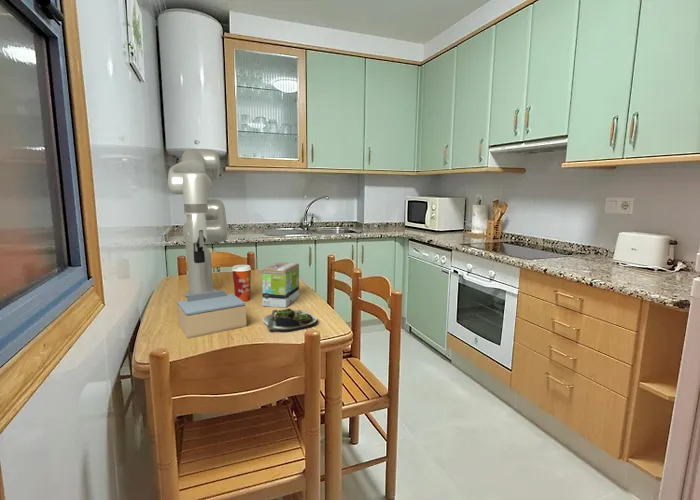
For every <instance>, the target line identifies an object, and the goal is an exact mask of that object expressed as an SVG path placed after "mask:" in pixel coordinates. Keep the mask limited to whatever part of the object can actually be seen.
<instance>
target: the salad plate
mask: <svg viewBox="0 0 700 500" xmlns="http://www.w3.org/2000/svg"><path fill="white" fill-rule="evenodd" d="M262 321H263V323H264V324H265V325H266V328H267V329H268V330H271V331H273V332H277V333H292V332H296V331H302V330H306V329H309V328H312V327H315V325H316V324H317V323H318V318H317V317H316V316H314V315H312V314H310V313H309V312H308V311H306V310H299V309H291V308H289V307H286V308H285V309H282V308H279V309H278V310H277V309H273V310H272V311H271V314H268V315H266V316H264V317H263V318H262Z"/></svg>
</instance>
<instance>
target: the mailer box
mask: <svg viewBox="0 0 700 500" xmlns="http://www.w3.org/2000/svg"><path fill="white" fill-rule="evenodd" d="M176 305H177V320H178V326H179V325H180V326H179V327H180V329H181V330H182V332H183V333H184V335H185V337H186V338H187V339H192V338H197V337H203V336H206V335H212V334H217V333H222V332H226V331H231V330H236V329H240V328H246V327H248V326H247V306H246V305H242V306H236V307H231V308H225V309H219V310H213V311H208V312H202V313H196V314H190V315H186V314H185V313H184V312H183V310H182V309H181V308H180V306H179V305H178V304H177V303H176Z"/></svg>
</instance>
